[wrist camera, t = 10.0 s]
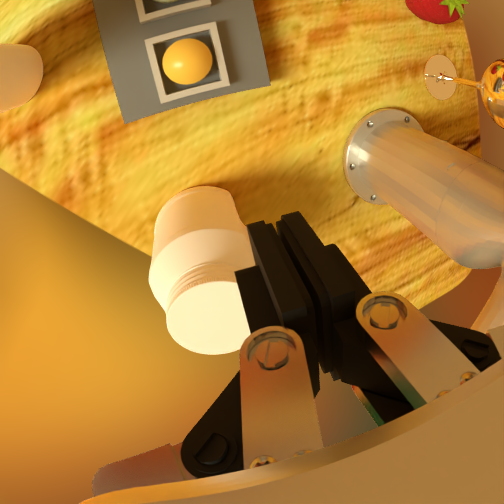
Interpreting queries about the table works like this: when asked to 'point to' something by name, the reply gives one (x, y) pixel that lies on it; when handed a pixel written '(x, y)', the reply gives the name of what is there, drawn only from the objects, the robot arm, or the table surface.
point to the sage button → (165, 1)
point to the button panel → (168, 32)
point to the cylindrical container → (18, 74)
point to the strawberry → (437, 10)
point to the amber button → (187, 61)
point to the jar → (201, 269)
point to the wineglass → (467, 84)
